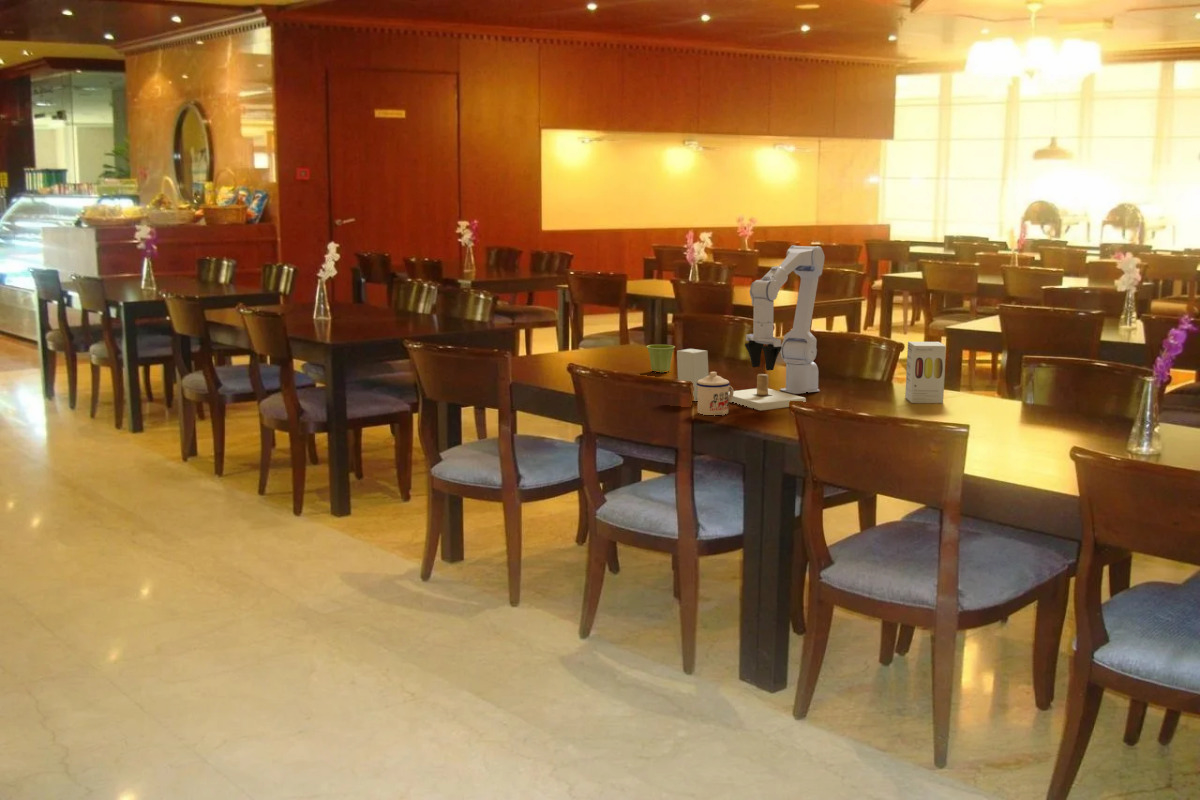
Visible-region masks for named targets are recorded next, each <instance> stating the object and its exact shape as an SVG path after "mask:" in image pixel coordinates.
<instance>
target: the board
mask: <svg viewBox="0 0 1200 800" xmlns="http://www.w3.org/2000/svg"><path fill="white" fill-rule="evenodd" d="M729 394H730V391H729ZM790 401H803V402H806V403H807V398H806V397H804V396H799V395H797V394H793V393H789V392H785V391H781V390H775V389H774V388H773V389H772V388H769V387H768V396H767V397H758V396H757V387H755V388H748V389H740V390H734V394H733V397H732V399H731V401H730V402H729V403H732V402H734V403H733V404H735V403H737V404H736V405H739V404H740V405H739V406H742V405H744V406H743V407H746V406H747V407H746V408H750V409H753V408H754V410H757V411H767V410H774V409H775V410H776V409H782V408H790V407H789V402H790Z"/></svg>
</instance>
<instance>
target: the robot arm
mask: <svg viewBox="0 0 1200 800" xmlns="http://www.w3.org/2000/svg"><path fill="white" fill-rule="evenodd" d="M785 256H786V257H785V258H784V259H783V261H782V262H781V263H780V264H779V266H778V265H776V266H771V268H770V270H769V271H767V273H765V275H763V277H762V278H760V279H756V280H754V281H753V282H752V283H751V284H750V289H749V296H750V298H751V305H752V306H753V320H752V321H753V322H752V323H753V329H752V331H753V333H749V334H745V341H746V342H745V343H744V346H745V348H746V350H747V352H748V355H749V358H750V363H751V366H752V368H758V367H760V366H761V356H762V351H763V354H764V355H763V356H764V363H765V370H766V371H773V370H775V365H776V361H777V359H778V356H779V353H780V356H781V359H782V360H783V363H785V387H784V388H783V387H782V388H779V391H780V392H784V393H788V394H792V395H798V394H799V395H800V394H807V393H806V392H808V393H816V392H820V391H821V390H820V389H819V367H818V365H817V364H816V362H814V360H815V359H816V357H817V354H818V353H817V352H818V349H817V341H818V340H817V337H815V336H814V334H812V332H811V325H812V319H813V312H814V306H815V301H816V296H817V295H816V294H817V291H818V290H817V289H818V285H819V284H818V283H819V278H820V276H822V274H823V270H824V265H825V264H824V263H825V259H826V258H825V257H826V256H825V254H824V251H823V248H822V247H821V246H818V245H817V246H809V245H808V246H807V245H805V246H804V245H801V246H800V245H794V244H793V245H791V246H790V247H789V248H788V249H787V250H786V255H785ZM792 272H793V273H794V274H796V275H797V276H799V277H800V282H799V290H798V295H797V302H796V307H795V312H794V313H795V314H794V319H793V325H792V329H791V330H789V331H788V332H787V333H785V334H784V337H783V340H782V339H779V338H777V337H775V336H774V307H775V306H774V304H775V303H774V301H775V300H777V297H778V294H779V292H780V289H781V288H782V286H784V285H785V284H786V282H787V281H788V278H789V275H790V274H791V273H792Z"/></svg>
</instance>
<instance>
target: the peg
mask: <svg viewBox="0 0 1200 800" xmlns="http://www.w3.org/2000/svg"><path fill="white" fill-rule="evenodd" d="M756 388H757V396H758V397H767V396H768V388H769V374H768V373H767V374H766V373H765V374H764V373H758V374H757V375H756Z"/></svg>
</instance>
